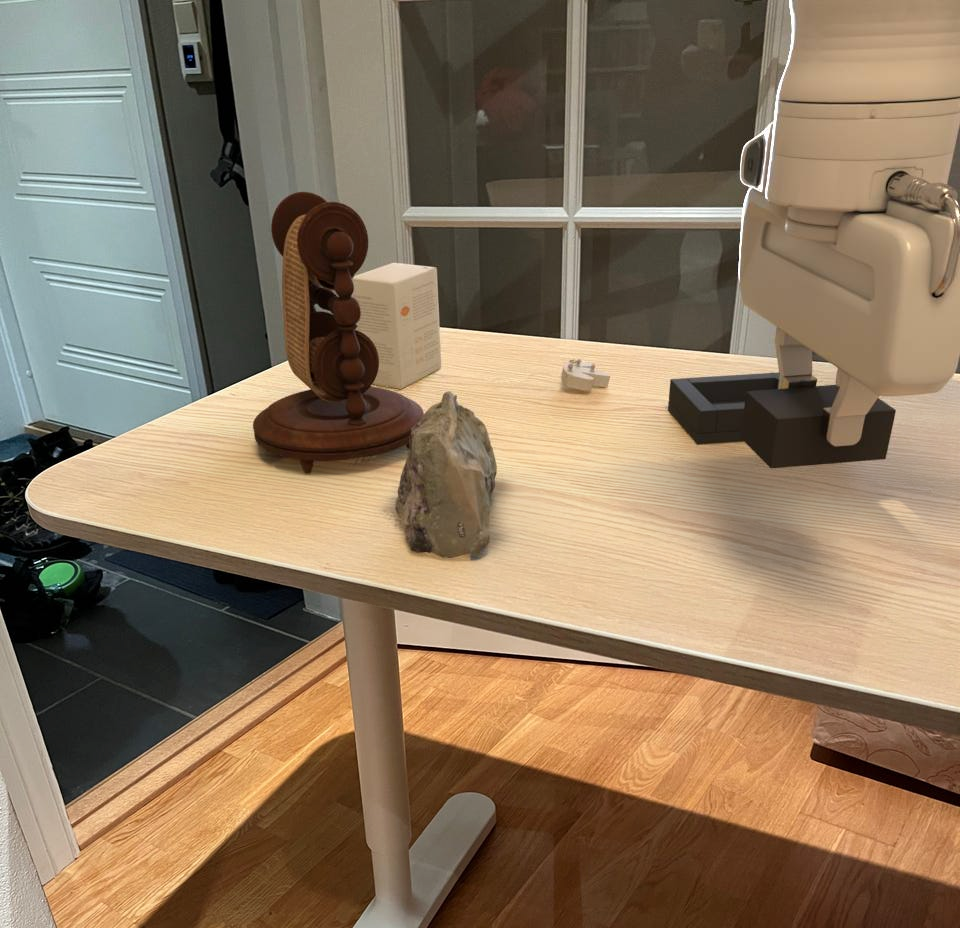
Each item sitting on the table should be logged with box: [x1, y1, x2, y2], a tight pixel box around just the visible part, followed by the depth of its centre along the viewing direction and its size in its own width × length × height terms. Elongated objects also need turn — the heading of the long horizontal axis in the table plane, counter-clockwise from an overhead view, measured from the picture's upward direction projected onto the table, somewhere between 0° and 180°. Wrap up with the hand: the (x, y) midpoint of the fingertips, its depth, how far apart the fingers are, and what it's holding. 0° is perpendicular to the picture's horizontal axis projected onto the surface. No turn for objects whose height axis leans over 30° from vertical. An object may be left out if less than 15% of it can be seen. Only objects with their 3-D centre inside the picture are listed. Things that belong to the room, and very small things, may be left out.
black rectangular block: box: [741, 384, 897, 470], centre depth 56 cm, size 7×5×3 cm
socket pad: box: [667, 371, 780, 446], centre depth 84 cm, size 11×9×3 cm
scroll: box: [252, 191, 425, 475], centre depth 77 cm, size 15×15×20 cm
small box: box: [352, 262, 442, 390], centre depth 96 cm, size 8×6×10 cm
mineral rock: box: [394, 390, 498, 559], centre depth 66 cm, size 13×11×10 cm
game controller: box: [490, 358, 611, 392], centre depth 93 cm, size 6×12×3 cm, turn 102°
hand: (815, 422), depth 56 cm, fingers closed on black rectangular block, 5 cm apart
